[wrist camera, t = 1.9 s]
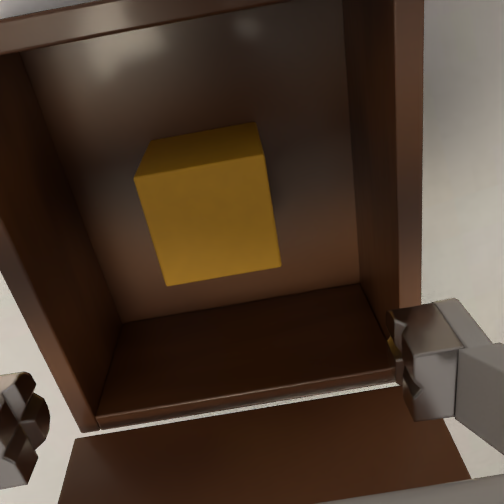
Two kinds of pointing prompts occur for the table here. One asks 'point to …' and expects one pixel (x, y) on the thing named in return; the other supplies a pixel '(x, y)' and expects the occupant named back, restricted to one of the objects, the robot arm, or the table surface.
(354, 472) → the lid
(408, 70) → the chest
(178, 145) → the block
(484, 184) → the table surface
